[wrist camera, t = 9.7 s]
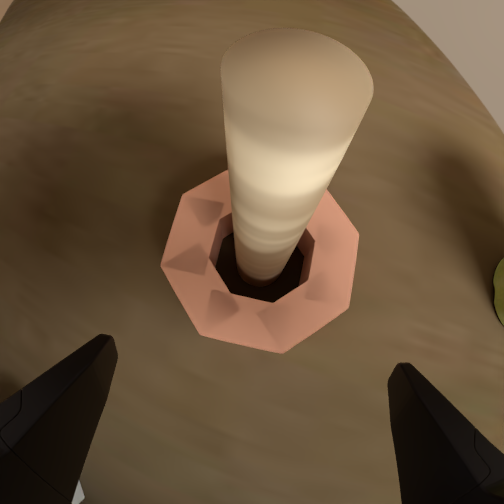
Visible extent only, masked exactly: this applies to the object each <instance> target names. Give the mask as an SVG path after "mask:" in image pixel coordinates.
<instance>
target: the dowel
mask: <svg viewBox="0 0 504 504" xmlns="http://www.w3.org/2000/svg"><path fill="white" fill-rule="evenodd" d="M221 83H222V97H223V110H224V123H225V136H226V148H227V161H228V173H229V185H230V196H231V208H232V219H233V230H234V241H235V252H236V263H237V270H238V273H239V275H240V276H241V278H242V279H243V280H244V281H245V282H246V283H248V284H250V285H252V286H257V287H263V286H267V285H270V284H272V283H273V282H275V281H276V280H277V279H278V277H279V276H280V274H281V272H282V270H283V269H284V267H285V265H286V263H287V261H288V260H289V258H290V256H291V254H292V252H293V250H294V249H295V247H296V245H297V243H298V241H299V239H300V238H301V236H302V234H303V232H304V230H305V228H306V227H307V225H308V223H309V221H310V219H311V217H312V215H313V213H314V212H315V210H316V208H317V206H318V204H319V202H320V200H321V198H322V196H323V195H324V193H325V191H326V189H327V187H328V185H329V183H330V181H331V179H332V177H333V175H334V173H335V171H336V170H337V168H338V166H339V164H340V162H341V160H342V158H343V156H344V154H345V152H346V150H347V148H348V146H349V144H350V142H351V140H352V138H353V136H354V134H355V132H356V130H357V128H358V126H359V124H360V122H361V120H362V118H363V116H364V114H365V112H366V110H367V108H368V106H369V104H370V102H371V99H372V96H373V89H374V87H373V80H372V77H371V74H370V72H369V70H368V68H367V67H366V65H365V64H364V63H363V61H362V60H361V59H360V58H359V57H358V56H357V55H356V54H355V53H354V52H353V51H351V50H350V49H349V48H347V47H346V46H344V45H343V44H341V43H340V42H338V41H336V40H334V39H332V38H329V37H327V36H325V35H322V34H319V33H316V32H312V31H308V30H302V29H295V28H273V29H266V30H261V31H257V32H254V33H251V34H249V35H246V36H244V37H242V38H241V39H239V40H237V41H236V42H235V43H234V44H232V45H231V46H230V47H229V48H228V50H227V51H226V53H225V54H224V56H223V58H222V61H221Z"/></svg>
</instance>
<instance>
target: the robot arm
mask: <svg viewBox="0 0 504 504" xmlns="http://www.w3.org/2000/svg"><path fill="white" fill-rule="evenodd" d="M117 359H118V353H117V350H116V346H115V342H114V339H113V337H112V336H111V335H106V334H99V335H98V336H96V337H95V338H93V339H92V340H90V341H89V342H87V343H86V344H85V345H83V346H82V347H80V348H79V349H77V350H76V351H74V352H73V353H72V354H70V355H69V356H67V357H66V358H64V359H63V360H62V361H60V362H59V363H57V364H56V365H54V366H53V367H52V368H50V369H49V370H47V371H46V372H44V373H43V374H42V375H40V376H39V377H37V378H36V379H35V380H33V381H32V382H30V383H29V384H28V385H26V386H25V387H23V388H22V389H20V390H19V391H18V392H16V393H15V394H13V395H12V396H10V397H9V398H7V399H6V400H5V401H3V402H1V403H0V504H72V503H71V502H72V501H73V498H74V494H75V491H76V488H77V484H78V481H79V478H80V475H81V472H82V469H83V466H84V463H85V460H86V457H87V454H88V451H89V448H90V445H91V442H92V439H93V436H94V433H95V431H96V428H97V425H98V422H99V420H100V417H101V414H102V412H103V409H104V406H105V403H106V401H107V397H108V394H109V390H110V386H111V382H112V378H113V374H114V371H115V367H116V363H117ZM388 396H389V409H390V422H391V430H392V436H393V442H394V448H395V454H396V461H397V468H398V475H399V483H400V492H401V501H402V504H504V454H503V453H502V452H501V451H500V450H498V449H497V448H496V447H495V446H494V445H493V444H492V443H491V442H490V441H488V440H487V439H486V438H485V437H484V436H483V435H482V434H481V433H480V432H479V431H478V430H477V429H476V428H475V427H474V426H473V425H472V424H471V423H470V422H469V421H468V420H467V419H466V418H465V417H464V416H463V415H462V414H461V413H460V412H459V411H458V410H457V409H456V408H455V407H454V406H453V405H452V404H451V403H450V402H449V401H448V400H447V399H446V398H445V397H444V396H443V395H442V394H441V393H440V392H439V391H438V390H437V389H436V388H435V387H434V386H433V385H432V384H431V383H430V382H429V381H428V380H427V379H426V378H425V377H424V376H423V375H422V374H421V373H420V372H419V371H418V370H417V369H416V368H415V367H414V366H413V365H412V364H410V363H398V364H397V365H396V367H395V368H394V370H393V372H392V374H391V376H390V377H389V379H388Z"/></svg>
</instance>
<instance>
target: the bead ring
mask: <svg viewBox="0 0 504 504" xmlns="http://www.w3.org/2000/svg"><path fill="white" fill-rule="evenodd" d="M233 232H234V230H233V219H232V208H231V196H230V185H229V173H228V170H226V171H224V172H222V173H221V174H219V175H217V176H215V177H213V178H211V179H209V180H208V181H206V182H204V183H202V184H200V185H199V186H197V187H195V188H193V189H191V190H190V191H188V192H186V193H184V194H183V195H182V197H181V200H180V203H179V206H178V210H177V213H176V216H175V219H174V222H173V225H172V228H171V231H170V235H169V238H168V241H167V244H166V248H165V251H164V254H163V258H162V261H161V265H160V266H161V268H162V270H163V271H164V273H165V275H166V277H167V279H168V281H169V282H170V284H171V286H172V288H173V289H174V291H175V293H176V295H177V297H178V298H179V300H180V302H181V304H182V305H183V307H184V309H185V310H186V312H187V314H188V316H189V317H190V319H191V321H192V322H193V324H194V326H195V327H196V329H197V331H198V332H199V334H200V335H202V336H206V337H210V338H214V339H218V340H222V341H226V342H230V343H235V344H239V345H243V346H248V347H252V348H257V349H262V350H266V351H271V352H276V353H281V354H283V353H284V352H286V351H287V350H289V349H290V348H292V347H293V346H295V345H296V344H298V343H299V342H301V341H302V340H304V339H305V338H307V337H308V336H310V335H311V334H313V333H314V332H316V331H317V330H318V329H320V328H321V327H323V326H324V325H326V324H327V323H329V322H330V321H331V320H333V319H334V318H336V317H337V316H338V315H340V314H341V313H343V312H344V311H345V310H347V309H348V308H349V303H350V297H351V290H352V284H353V277H354V270H355V263H356V256H357V248H358V240H359V233H358V232H357V230H356V229H355V227H354V226H353V225H352V223H351V222H350V220H349V219H348V218H347V216H346V215H345V213H344V212H343V211H342V209H341V208H340V207H339V205H338V204H337V203H336V201H335V200H334V199H333V197H332V196H331V195H330V193H329V192H328V191H327V189H326V191H325V193H324V195H323V196H322V198H321V200H320V202H319V204H318V206H317V208H316V210H315V212H314V213H313V215H312V217H311V219H310V221H309V223H308V225H307V227H306V228H305V230H304V232H303V234H302V236H301V238H300V239H299V241H298V243H297V247H298V248H299V250H300V251H301V252H302V254H303V255H304V260H303V266H302V271H301V276H300V281H299V286H298V287H297V288H296V289H294V290H293V291H291V292H289V293H288V294H286V295H285V296H283V297H282V298H280V299H279V300H277V301H275V302H274V303H270V302H266V301H261V300H257V299H253V298H248V297H244V296H239V295H235V294H231V293H230V292H229V290H228V288H227V287H226V285H225V284H224V282H223V280H222V279H221V277H220V275H219V274H218V272H217V271H216V269H215V267H216V263H217V259H218V255H219V251H220V248H221V244H222V240H223V238H224V237H226V236H228V235H229V234H231V233H233Z"/></svg>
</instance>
